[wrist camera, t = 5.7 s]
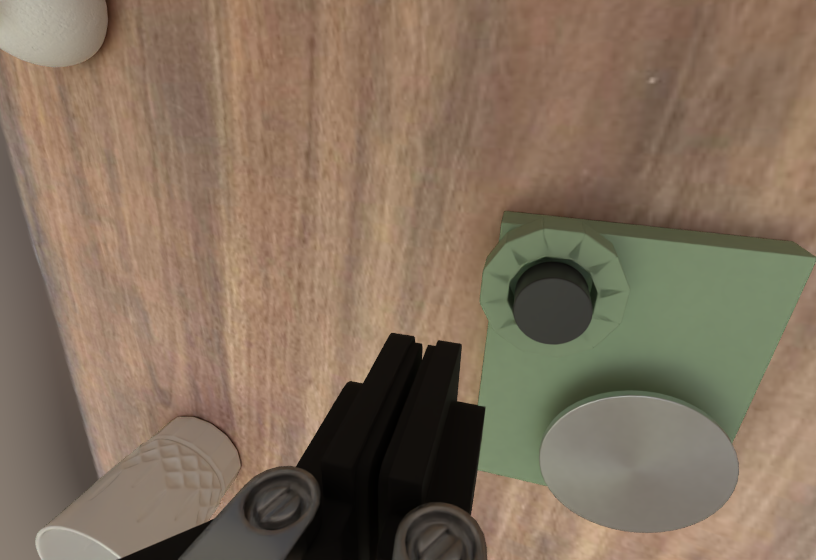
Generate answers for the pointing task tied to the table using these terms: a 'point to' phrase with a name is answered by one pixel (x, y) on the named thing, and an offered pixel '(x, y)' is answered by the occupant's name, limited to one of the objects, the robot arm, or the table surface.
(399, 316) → the table surface
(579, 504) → the pan
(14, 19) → the garlic bulb
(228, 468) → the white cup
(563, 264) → the tare button
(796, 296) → the scale
